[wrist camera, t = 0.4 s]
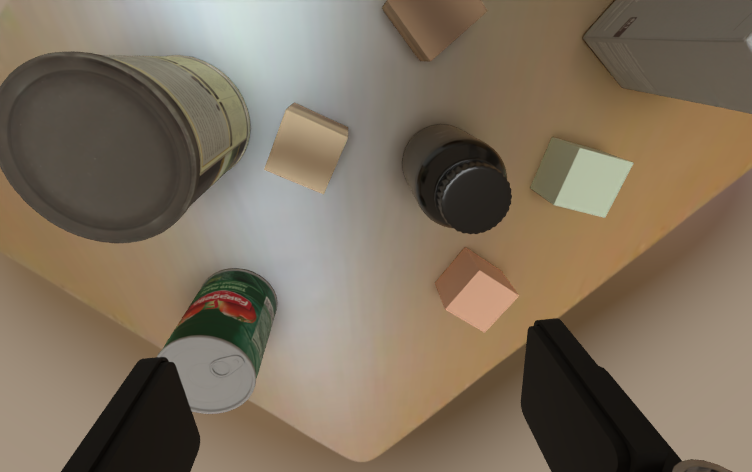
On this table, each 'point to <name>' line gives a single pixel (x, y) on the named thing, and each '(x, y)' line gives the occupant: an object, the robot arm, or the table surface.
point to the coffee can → (118, 139)
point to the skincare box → (679, 49)
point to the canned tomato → (223, 340)
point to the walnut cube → (432, 22)
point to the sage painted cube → (580, 177)
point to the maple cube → (307, 148)
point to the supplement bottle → (457, 179)
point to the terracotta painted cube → (475, 290)
